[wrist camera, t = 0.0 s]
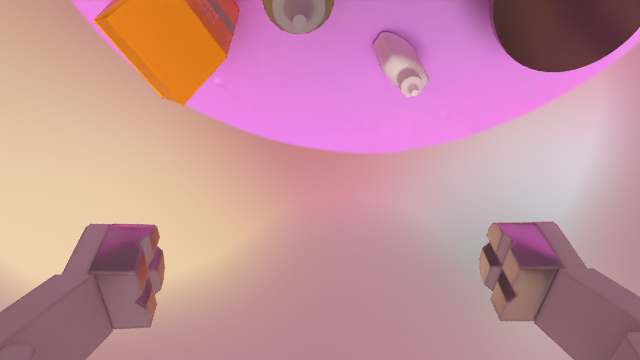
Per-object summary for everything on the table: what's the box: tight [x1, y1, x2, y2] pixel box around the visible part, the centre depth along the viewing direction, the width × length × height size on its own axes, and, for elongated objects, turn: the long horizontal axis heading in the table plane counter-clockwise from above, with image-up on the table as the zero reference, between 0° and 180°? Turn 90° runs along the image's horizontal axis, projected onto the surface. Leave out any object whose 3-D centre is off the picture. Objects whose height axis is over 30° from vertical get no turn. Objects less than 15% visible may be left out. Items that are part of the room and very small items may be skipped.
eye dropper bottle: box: [373, 32, 429, 97], centre depth 54 cm, size 4×6×12 cm
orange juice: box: [93, 0, 239, 106], centre depth 46 cm, size 8×9×20 cm
